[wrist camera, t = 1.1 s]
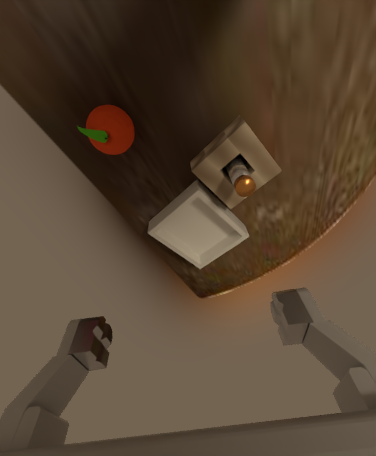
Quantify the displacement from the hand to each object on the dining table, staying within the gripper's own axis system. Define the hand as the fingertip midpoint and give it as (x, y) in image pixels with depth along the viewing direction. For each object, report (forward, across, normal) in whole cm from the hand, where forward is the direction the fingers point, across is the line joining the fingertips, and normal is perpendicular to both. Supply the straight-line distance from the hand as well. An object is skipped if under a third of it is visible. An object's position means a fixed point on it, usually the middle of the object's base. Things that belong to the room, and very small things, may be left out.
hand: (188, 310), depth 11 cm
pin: (+34, -9, +8) cm, 36 cm away
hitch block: (+34, -9, +8) cm, 36 cm away
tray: (+34, -1, +21) cm, 40 cm away
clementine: (+34, +10, -2) cm, 35 cm away
